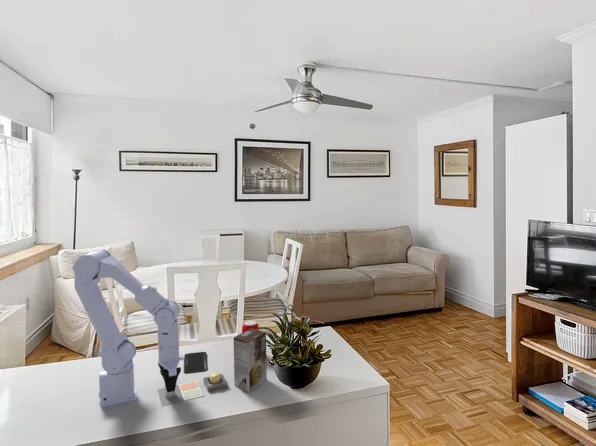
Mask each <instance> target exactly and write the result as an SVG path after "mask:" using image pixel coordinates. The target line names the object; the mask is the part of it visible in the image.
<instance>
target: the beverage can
mask: <svg viewBox="0 0 596 446" xmlns="http://www.w3.org/2000/svg"><path fill="white" fill-rule="evenodd" d="M250 328H252V329H257V330H260V326H259V324H258V322H257V321H256V320H246V321H244V322H243V324H242V326H241V333H243V332H245V331H247V330H248V329H250ZM258 328H259V329H258Z"/></svg>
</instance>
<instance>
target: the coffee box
mask: <svg viewBox="0 0 596 446" xmlns="http://www.w3.org/2000/svg"><path fill="white" fill-rule="evenodd" d="M233 370H234V371H233V376H234V377H233V378H234V379H233V381H234V382H233V384H234V385H233V386H234V387H238V388H240V389H241V390H243V391H245V392H247V393H250V392H252V391H253V390H255V389H256V388H257V387H259V386H260V385H261V384H263V383H264V382H265V381H267V332H266V331H262V330H260V329H259V330H256V329H252V328H250V329H248V330H247V331H245V332H243V333H242V332H241V333H239V334H238V335H236V336H234V337H233Z"/></svg>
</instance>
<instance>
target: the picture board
mask: <svg viewBox="0 0 596 446" xmlns="http://www.w3.org/2000/svg"><path fill="white" fill-rule="evenodd" d="M157 392H158V397H159V401H160V406H161V407H165V406H170V405H174V404H179V403H183V402H187V401H191V400H195V399H199V398H203V397H205V394H204V393H203V392H204V391H203V390H202V388H201V385H200V383H199V381H198V380H194V381H189V382H185V383H180V384H176V388H175V393H176V395H175V396H174V397H171V398H166V397H165V387H162V388H158V389H157Z"/></svg>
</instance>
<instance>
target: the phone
mask: <svg viewBox="0 0 596 446" xmlns="http://www.w3.org/2000/svg"><path fill="white" fill-rule="evenodd" d="M208 370H209V368H208V355H207V352H206V351H199V352H198V351H197V352H191V353H190V352H189V353H185V354H184V355H183V374H185V375H186V374H195V373H202V372H203V373H204V372H207V371H208Z"/></svg>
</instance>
